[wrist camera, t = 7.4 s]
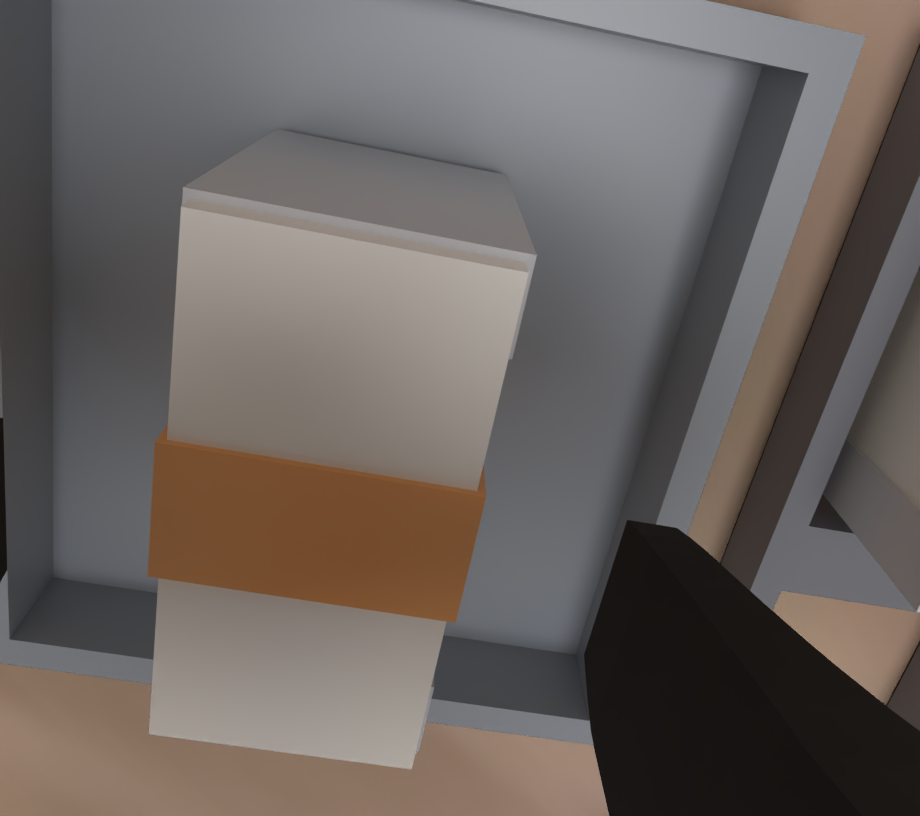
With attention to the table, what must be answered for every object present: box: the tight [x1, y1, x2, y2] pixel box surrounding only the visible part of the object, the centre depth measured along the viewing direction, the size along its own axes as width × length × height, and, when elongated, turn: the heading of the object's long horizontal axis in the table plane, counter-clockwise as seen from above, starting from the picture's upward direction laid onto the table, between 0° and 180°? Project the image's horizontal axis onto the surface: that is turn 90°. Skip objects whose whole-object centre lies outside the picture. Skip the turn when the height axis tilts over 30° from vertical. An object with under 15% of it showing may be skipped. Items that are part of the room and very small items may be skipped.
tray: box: [0, 0, 866, 745], centre depth 15 cm, size 12×13×2 cm
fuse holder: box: [721, 47, 920, 731], centre depth 19 cm, size 6×28×2 cm, turn 169°
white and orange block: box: [148, 129, 537, 769], centre depth 13 cm, size 4×7×6 cm, turn 169°
